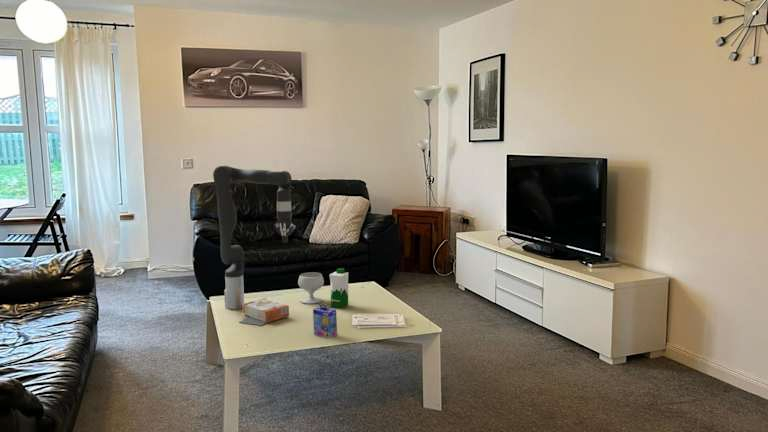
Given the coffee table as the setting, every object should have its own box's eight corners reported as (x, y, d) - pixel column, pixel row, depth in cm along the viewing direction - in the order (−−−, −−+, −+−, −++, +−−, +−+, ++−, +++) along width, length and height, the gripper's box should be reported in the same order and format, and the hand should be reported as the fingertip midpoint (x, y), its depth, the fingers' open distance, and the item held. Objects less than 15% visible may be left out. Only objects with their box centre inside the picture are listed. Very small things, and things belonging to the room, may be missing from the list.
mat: (238, 322, 279) (238, 321, 279) (260, 312, 295) (260, 311, 295) (261, 326, 274) (261, 325, 274) (282, 315, 290) (282, 314, 290)
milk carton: (350, 305, 308) (349, 268, 305) (343, 309, 299) (342, 272, 297) (335, 303, 311) (335, 267, 308) (328, 307, 303) (327, 271, 300)
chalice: (329, 300, 318) (328, 273, 316) (313, 306, 306) (312, 278, 304) (309, 296, 325) (309, 270, 323) (293, 302, 313) (292, 275, 311)
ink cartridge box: (312, 334, 261) (312, 304, 259) (320, 331, 266) (319, 301, 264) (330, 338, 256) (329, 307, 254) (337, 335, 261) (337, 304, 259)
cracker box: (265, 311, 276) (241, 303, 290) (266, 323, 277) (242, 314, 291) (289, 304, 286) (264, 297, 300) (289, 316, 287) (265, 308, 301)
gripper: (269, 210, 296) (270, 243, 299) (291, 211, 291) (292, 244, 294) (277, 208, 303) (278, 240, 306) (298, 209, 298) (299, 242, 300)
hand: (285, 242), depth 300 cm, fingers closed
